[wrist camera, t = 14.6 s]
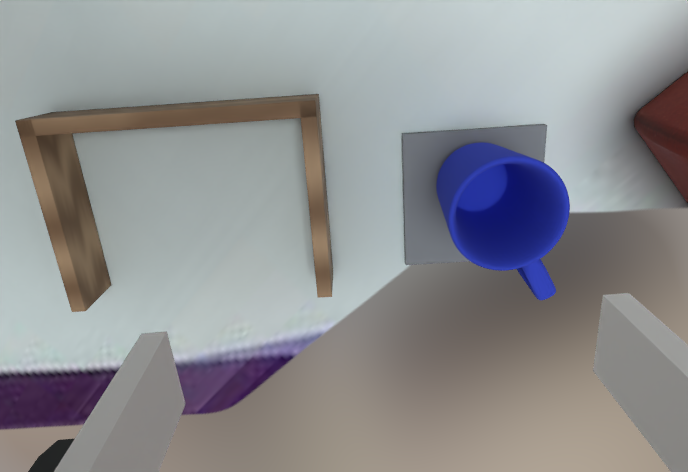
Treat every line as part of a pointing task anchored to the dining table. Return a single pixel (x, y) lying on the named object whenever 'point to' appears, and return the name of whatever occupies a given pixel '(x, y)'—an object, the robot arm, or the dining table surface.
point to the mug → (504, 210)
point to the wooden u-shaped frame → (57, 127)
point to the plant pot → (668, 131)
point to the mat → (421, 178)
